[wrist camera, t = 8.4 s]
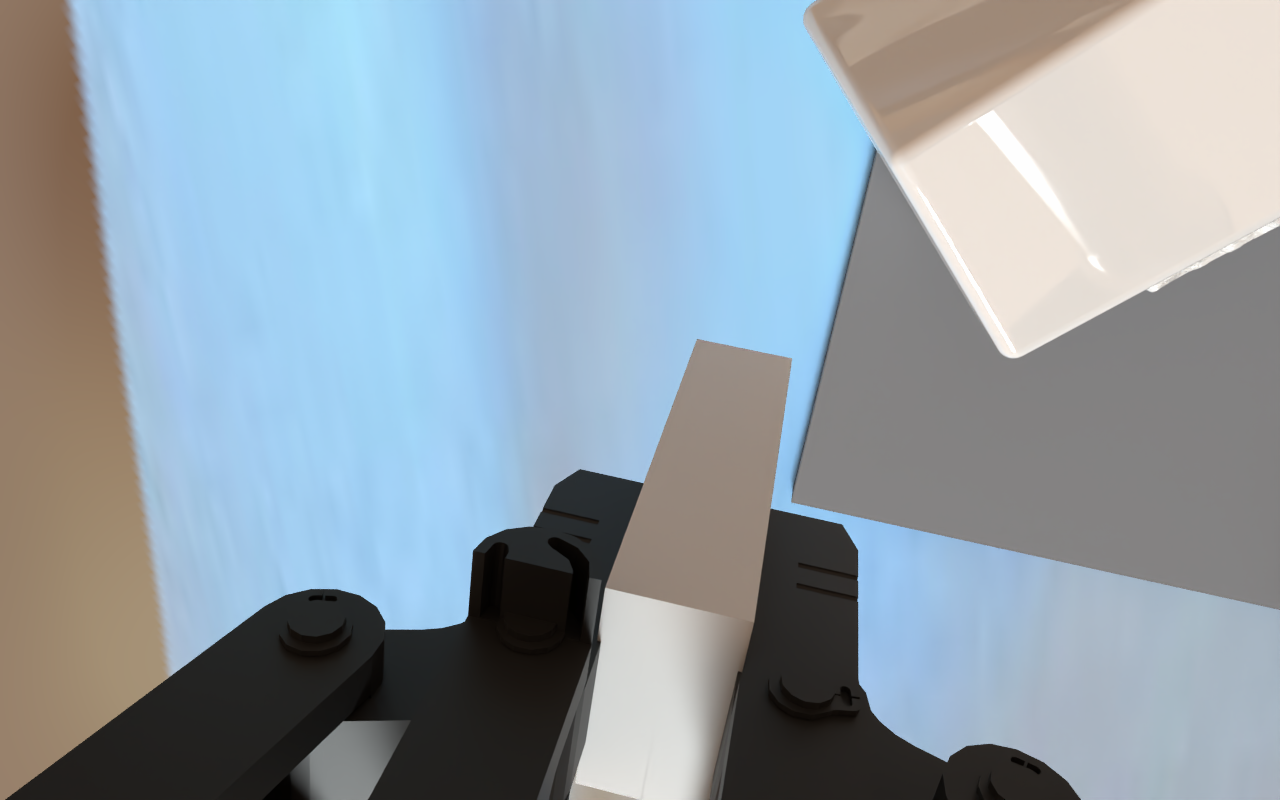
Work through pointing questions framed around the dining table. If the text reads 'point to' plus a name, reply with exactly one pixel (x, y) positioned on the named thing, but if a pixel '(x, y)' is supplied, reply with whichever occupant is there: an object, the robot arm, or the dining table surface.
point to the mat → (1058, 416)
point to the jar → (1066, 140)
